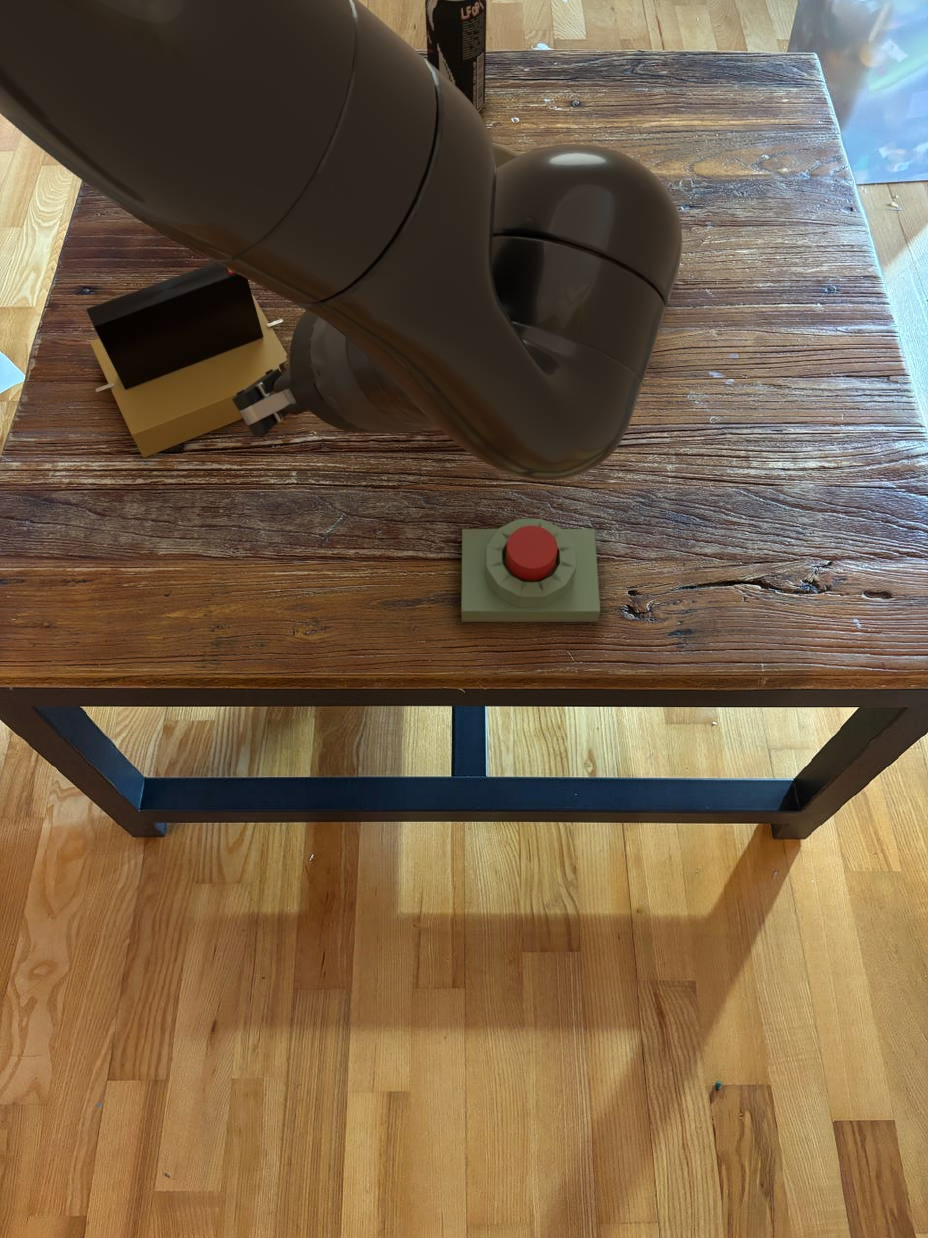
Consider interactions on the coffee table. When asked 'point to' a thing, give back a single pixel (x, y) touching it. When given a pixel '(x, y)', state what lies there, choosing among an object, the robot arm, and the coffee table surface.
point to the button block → (518, 600)
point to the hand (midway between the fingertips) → (294, 375)
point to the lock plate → (191, 391)
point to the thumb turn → (176, 323)
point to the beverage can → (459, 44)
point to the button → (531, 552)
